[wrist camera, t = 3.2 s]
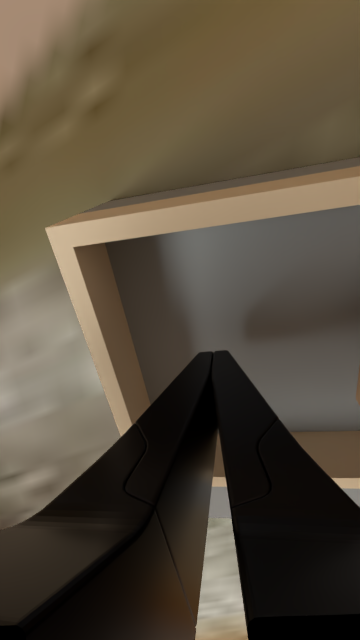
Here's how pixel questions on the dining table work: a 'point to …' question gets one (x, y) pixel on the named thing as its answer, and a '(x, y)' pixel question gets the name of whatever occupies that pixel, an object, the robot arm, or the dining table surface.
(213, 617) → the dining table surface
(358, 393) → the block
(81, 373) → the dining table surface
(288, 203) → the deck
